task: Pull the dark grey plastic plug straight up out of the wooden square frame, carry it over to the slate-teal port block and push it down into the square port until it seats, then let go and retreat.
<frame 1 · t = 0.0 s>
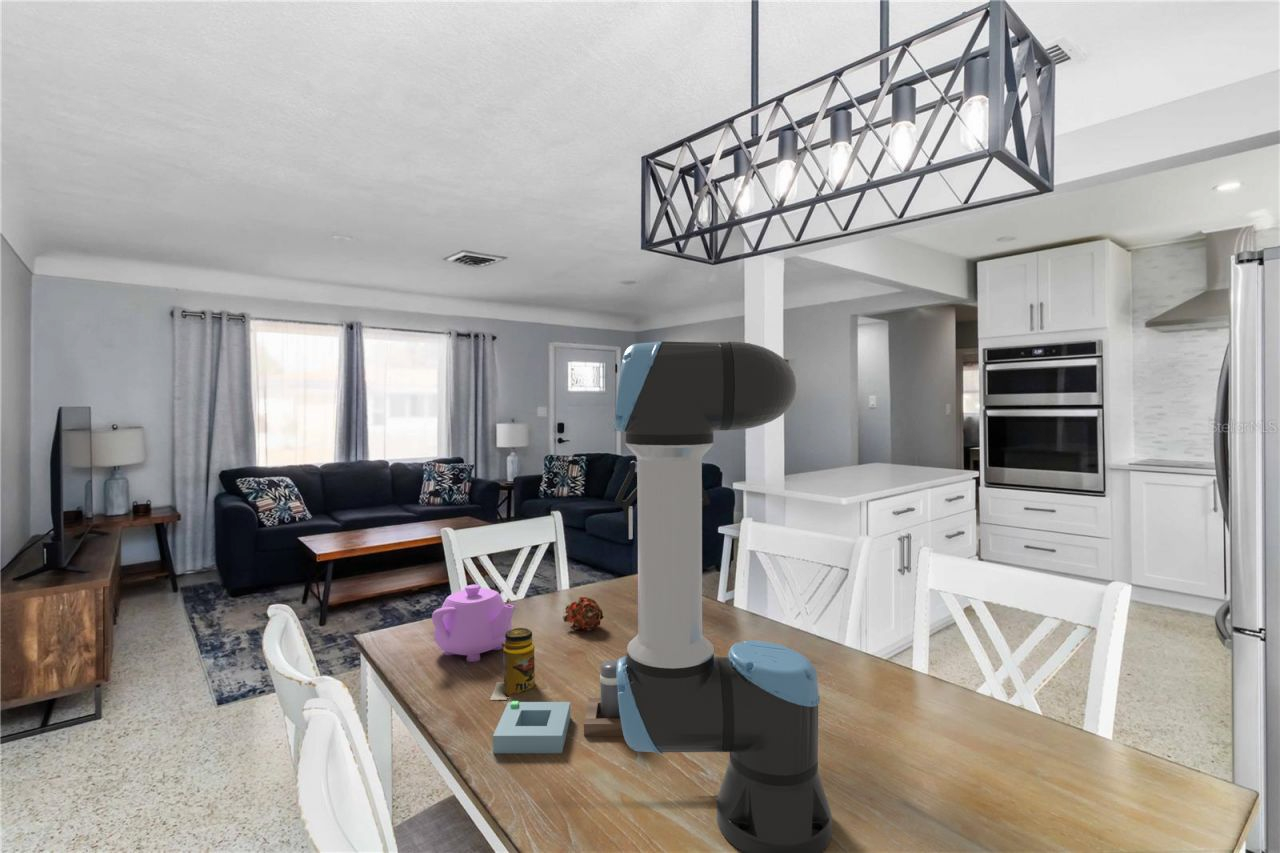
hand: (662, 537, 131), 28 cm above the table, fingers open, 13 cm apart
condiment: (515, 692, 121), on the table
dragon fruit: (582, 628, 155), on the table
wooden square frame: (612, 728, 107), on the table
port: (533, 741, 103), on the table
plug: (612, 721, 107), point 1 cm above the table, touching wooden square frame
teapot: (474, 655, 139), on the table
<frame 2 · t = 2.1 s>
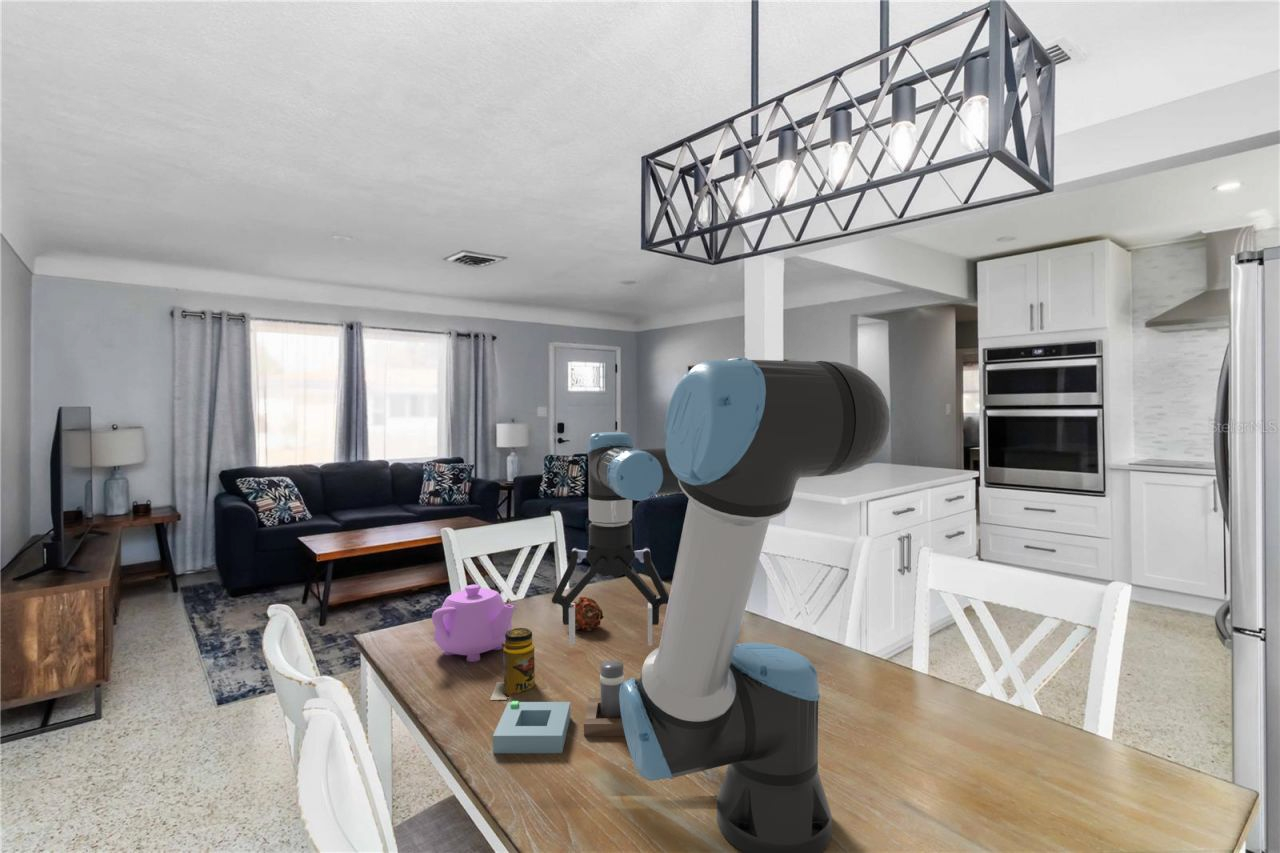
hand: (611, 642, 106), 15 cm above the table, fingers open, 13 cm apart
nothing on the table moved.
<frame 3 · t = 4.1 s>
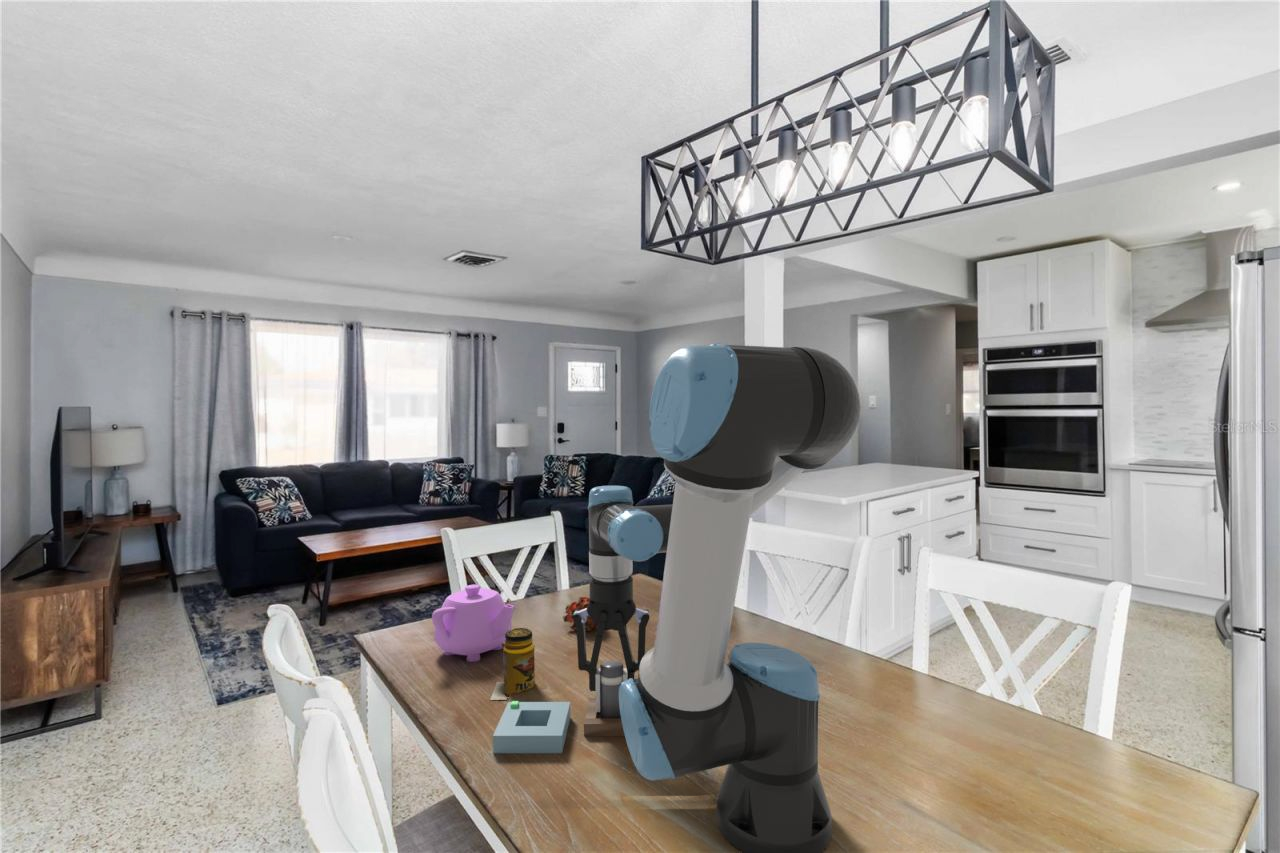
hand: (612, 707, 107), 4 cm above the table, fingers closed on plug, 4 cm apart
plug: (612, 721, 107), point 1 cm above the table, touching gripper, wooden square frame
everything else where it was.
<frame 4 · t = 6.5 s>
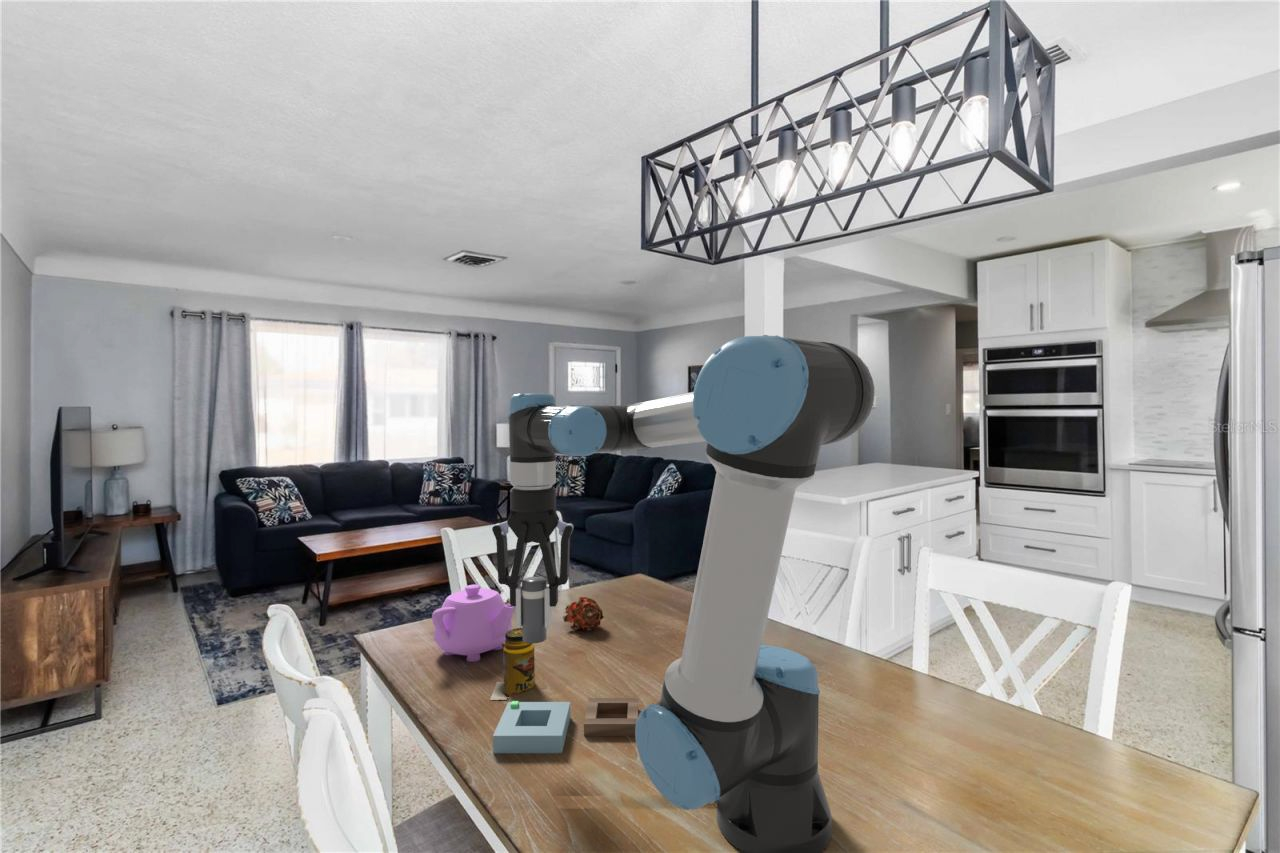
hand: (534, 624, 102), 20 cm above the table, fingers closed on plug, 4 cm apart
plug: (534, 638, 103), point 17 cm above the table, touching gripper
everything else where it was.
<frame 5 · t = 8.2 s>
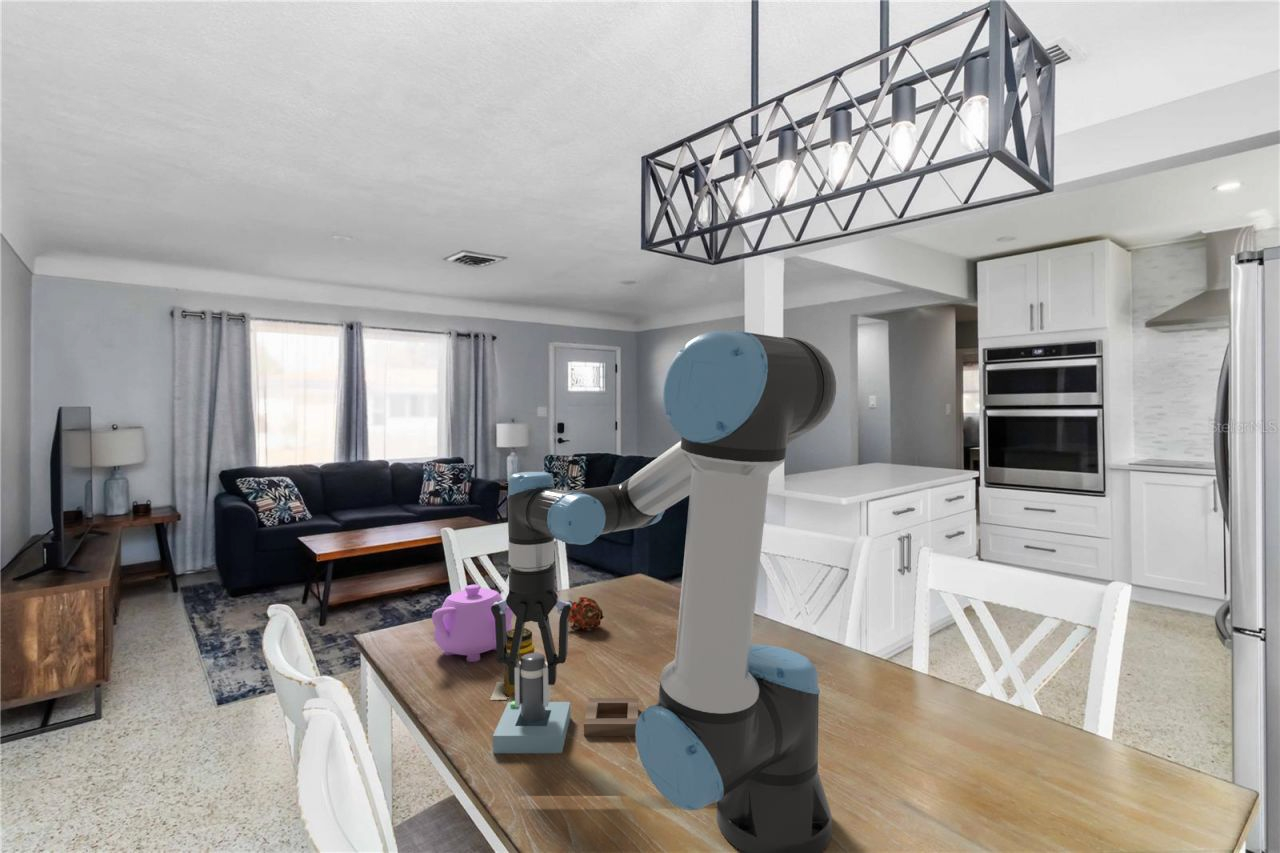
hand: (532, 702, 103), 7 cm above the table, fingers closed on plug, 4 cm apart
plug: (533, 716, 103), point 4 cm above the table, touching gripper
everything else where it was.
when the fingers open (5 cm above the table, at t = 9.2 s): plug drops 1 cm, resting on port.
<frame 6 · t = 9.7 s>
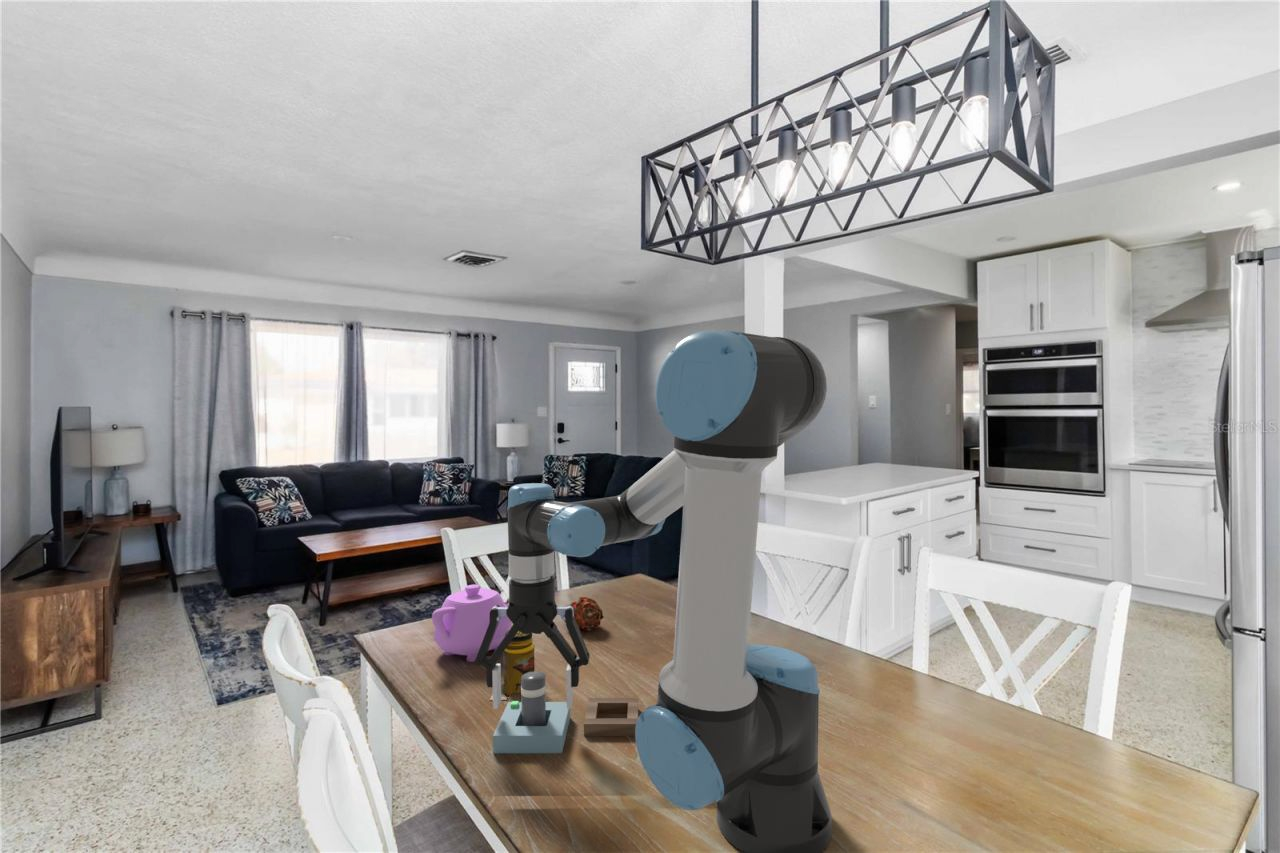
hand: (533, 705, 103), 6 cm above the table, fingers open, 11 cm apart
plug: (534, 735, 103), point 1 cm above the table, touching port
everything else where it was.
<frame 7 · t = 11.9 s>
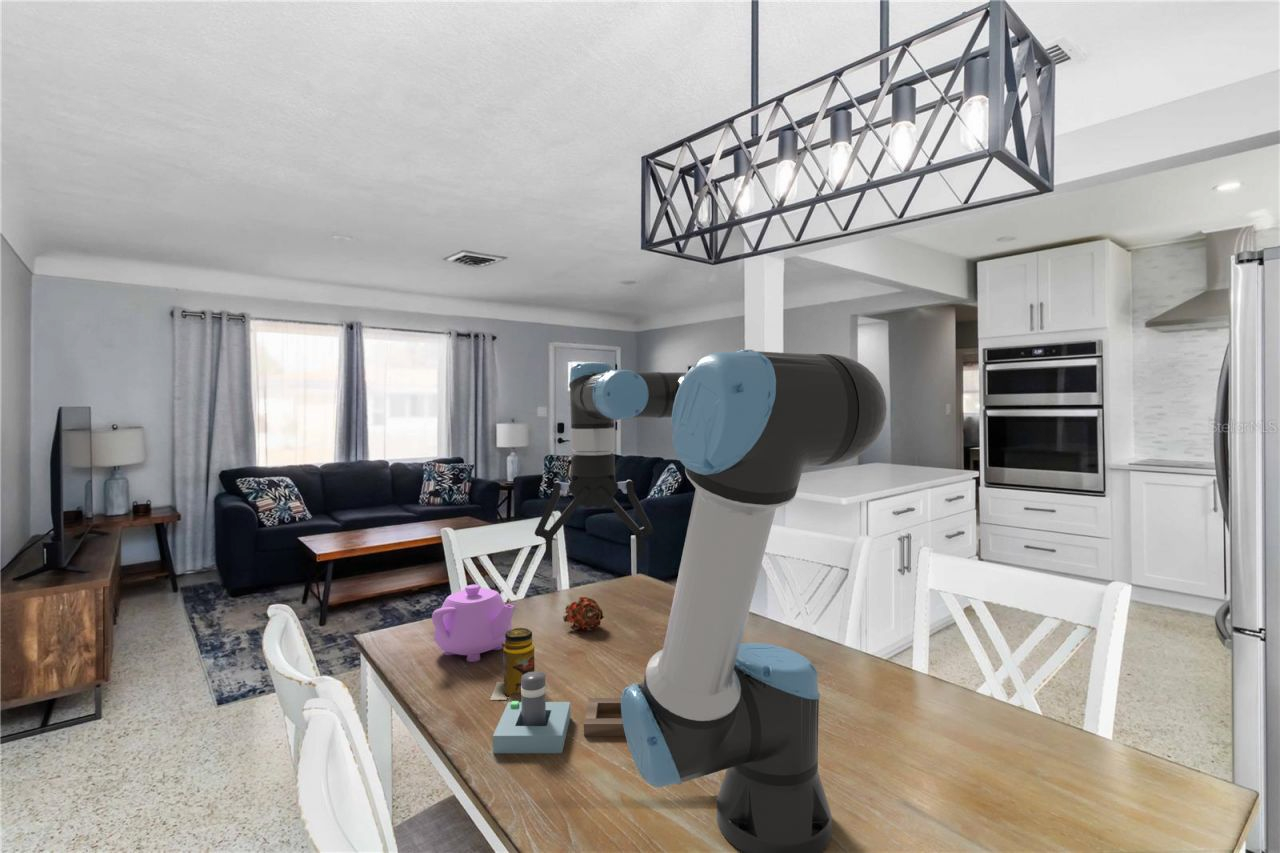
hand: (594, 575, 106), 27 cm above the table, fingers open, 13 cm apart
nothing on the table moved.
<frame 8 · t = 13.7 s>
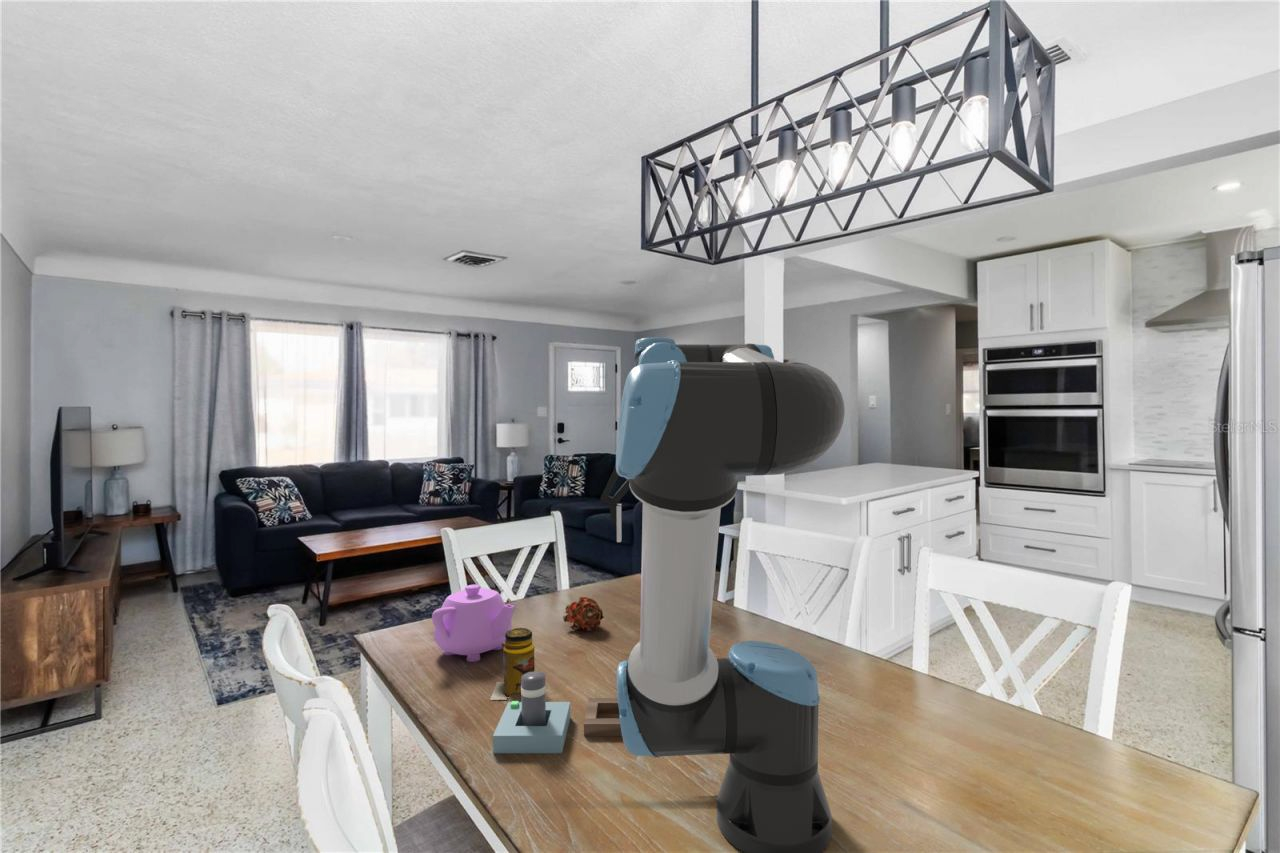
hand: (656, 540, 111), 32 cm above the table, fingers open, 13 cm apart
nothing on the table moved.
at the end: plug 0.1 cm off-centre on the port, point 1.0 cm above the port's base; plug tilted 0°; the gripper is holding nothing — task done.
